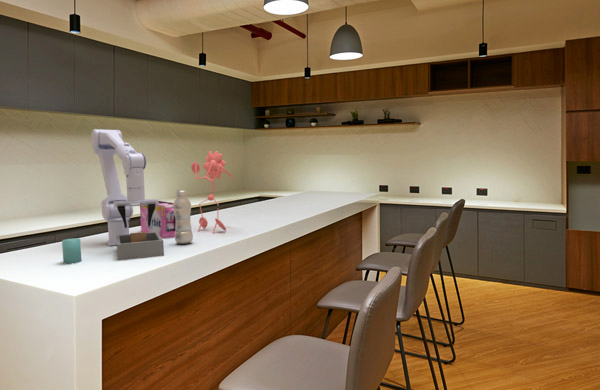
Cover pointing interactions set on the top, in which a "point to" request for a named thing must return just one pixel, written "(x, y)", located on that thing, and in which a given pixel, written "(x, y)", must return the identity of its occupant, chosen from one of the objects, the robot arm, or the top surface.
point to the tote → (139, 246)
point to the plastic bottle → (182, 218)
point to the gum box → (159, 219)
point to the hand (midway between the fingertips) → (137, 226)
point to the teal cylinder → (71, 250)
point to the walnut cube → (138, 237)
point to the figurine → (214, 170)
